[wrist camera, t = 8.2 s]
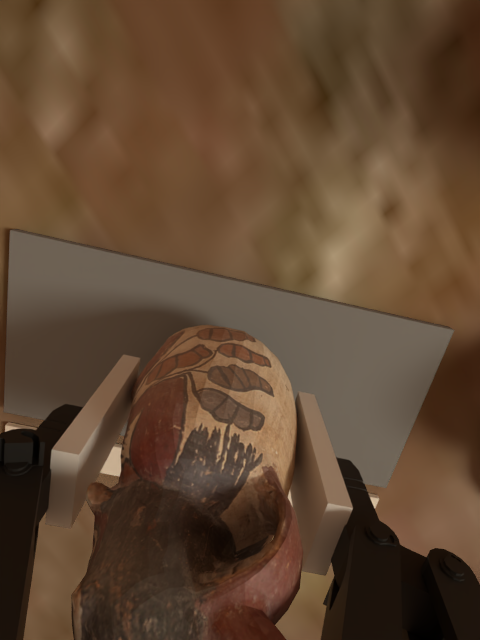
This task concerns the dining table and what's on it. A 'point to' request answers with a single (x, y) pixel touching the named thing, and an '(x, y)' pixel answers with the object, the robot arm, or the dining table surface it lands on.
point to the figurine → (198, 500)
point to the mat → (217, 310)
